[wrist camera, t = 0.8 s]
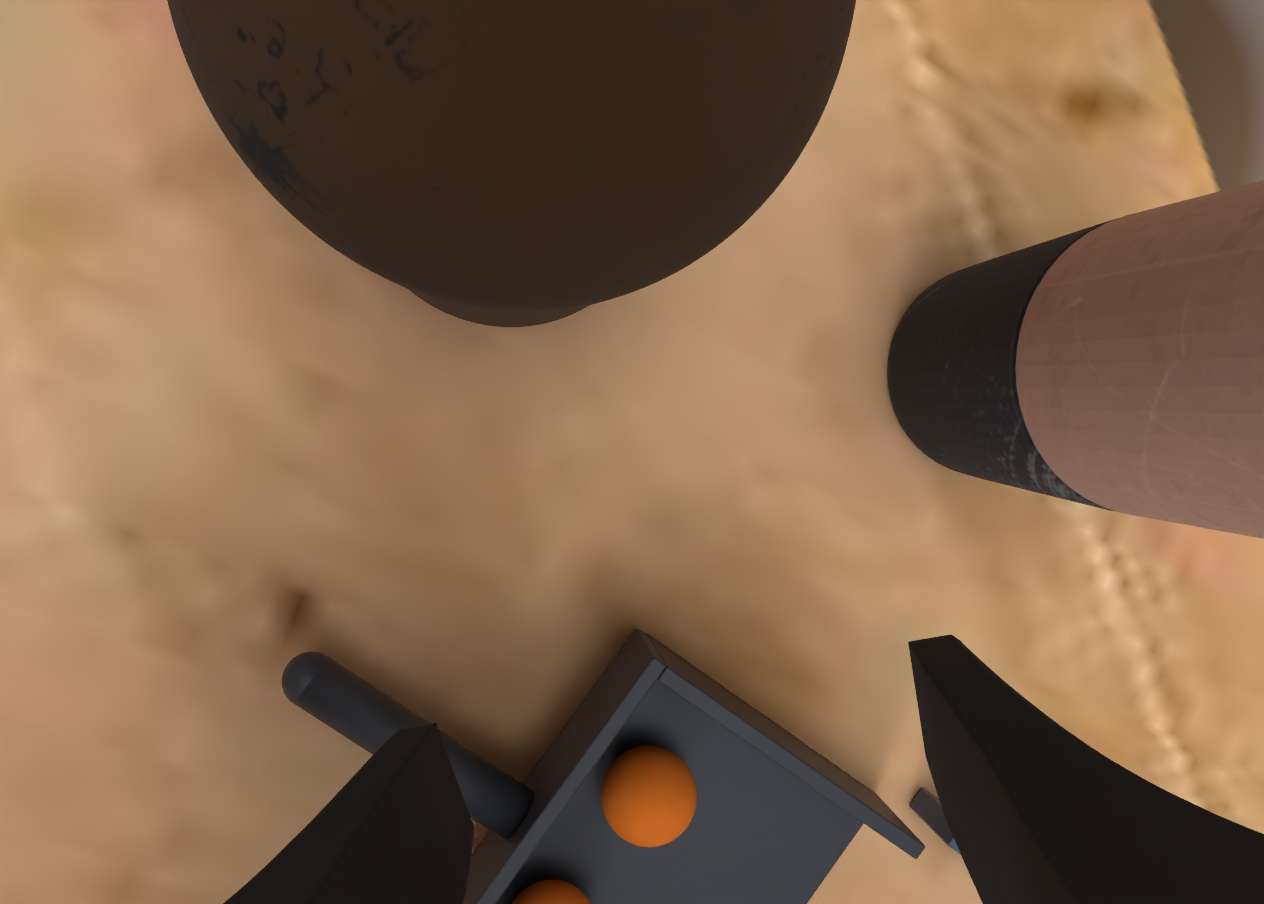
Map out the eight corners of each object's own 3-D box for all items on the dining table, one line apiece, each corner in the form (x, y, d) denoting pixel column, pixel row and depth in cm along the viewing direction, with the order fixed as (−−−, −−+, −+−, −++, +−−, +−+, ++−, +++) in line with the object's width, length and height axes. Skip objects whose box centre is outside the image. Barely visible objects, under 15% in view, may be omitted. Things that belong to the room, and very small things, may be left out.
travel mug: (1129, 390, 34) (2020, 390, 14) (964, 528, 33) (1648, 731, 14) (1006, 212, 33) (1781, -57, 13) (833, 352, 32) (1369, 293, 13)
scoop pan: (876, 794, 34) (926, 846, 30) (655, 1106, 33) (676, 1201, 29) (424, 477, 31) (415, 490, 27) (177, 815, 30) (131, 876, 26)
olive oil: (623, 387, 31) (1101, 383, 7) (292, 291, 30) (-694, -188, 5) (714, 68, 31) (1562, -1169, 6) (386, -47, 29) (-171, -2297, 5)
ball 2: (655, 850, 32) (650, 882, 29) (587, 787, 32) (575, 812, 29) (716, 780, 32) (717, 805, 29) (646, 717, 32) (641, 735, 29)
